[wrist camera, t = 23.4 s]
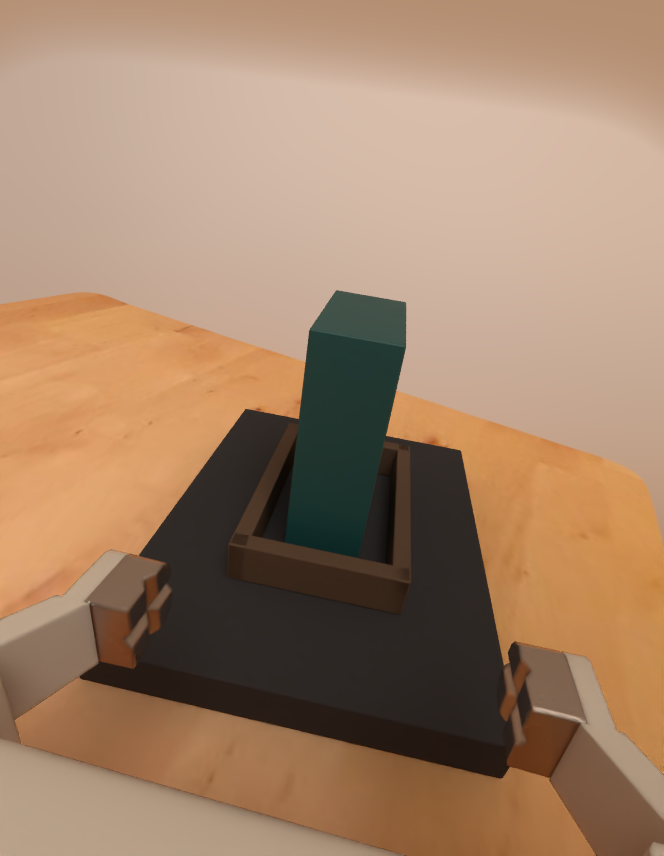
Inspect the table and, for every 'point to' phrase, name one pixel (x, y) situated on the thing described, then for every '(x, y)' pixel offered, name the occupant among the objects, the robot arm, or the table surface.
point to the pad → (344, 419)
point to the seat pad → (329, 606)
